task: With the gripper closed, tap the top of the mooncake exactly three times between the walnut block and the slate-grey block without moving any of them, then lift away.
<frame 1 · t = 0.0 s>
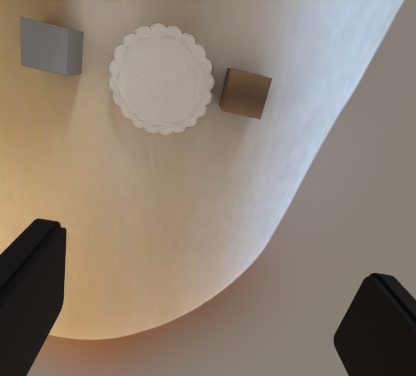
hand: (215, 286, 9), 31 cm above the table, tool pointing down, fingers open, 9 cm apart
mooncake: (164, 81, 36), on the table
slate-grey block: (62, 48, 34), on the table
walnut block: (240, 91, 37), on the table
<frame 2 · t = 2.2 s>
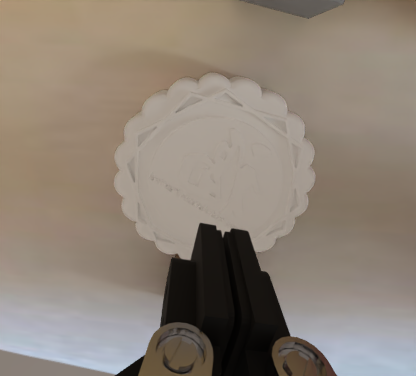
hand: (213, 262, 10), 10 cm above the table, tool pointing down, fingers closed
mooncake: (213, 165, 20), on the table
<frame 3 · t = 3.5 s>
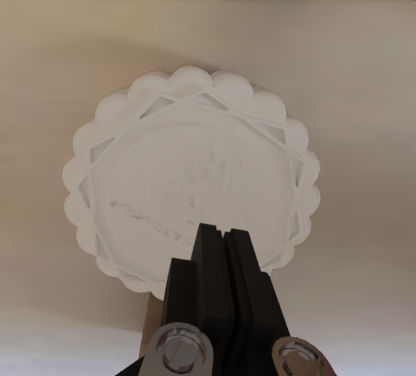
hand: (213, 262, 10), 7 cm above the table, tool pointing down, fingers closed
mooncake: (193, 180, 17), on the table
walnut block: (180, 312, 20), on the table
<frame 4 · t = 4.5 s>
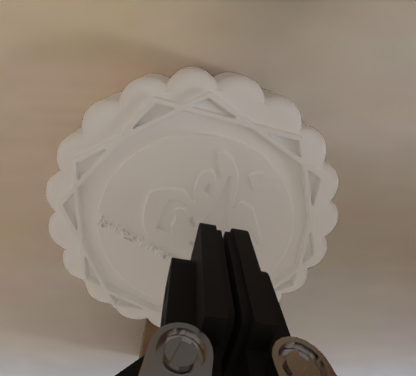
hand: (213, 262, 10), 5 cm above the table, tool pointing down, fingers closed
mooncake: (195, 193, 15), on the table
walnut block: (180, 333, 19), on the table
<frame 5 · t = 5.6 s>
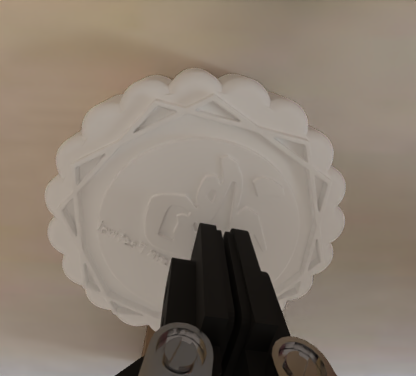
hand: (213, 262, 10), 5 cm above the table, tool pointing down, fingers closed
mooncake: (197, 197, 15), on the table
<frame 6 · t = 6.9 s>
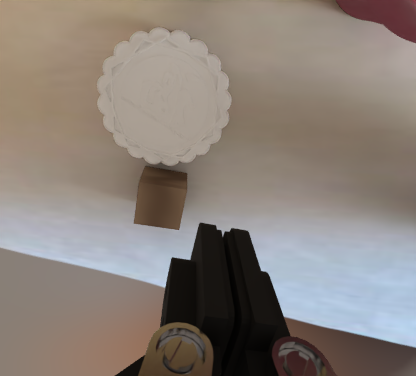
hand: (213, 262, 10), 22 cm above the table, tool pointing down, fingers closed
mooncake: (167, 98, 29), on the table
walnut block: (163, 188, 33), on the table
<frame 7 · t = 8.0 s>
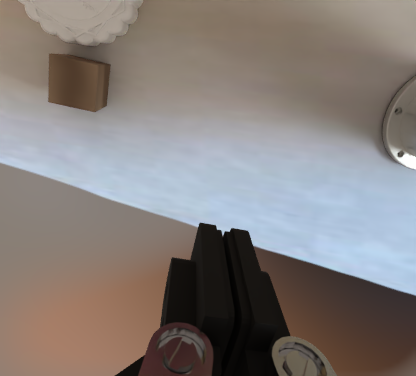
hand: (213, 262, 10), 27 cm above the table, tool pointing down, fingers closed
walnut block: (88, 81, 33), on the table
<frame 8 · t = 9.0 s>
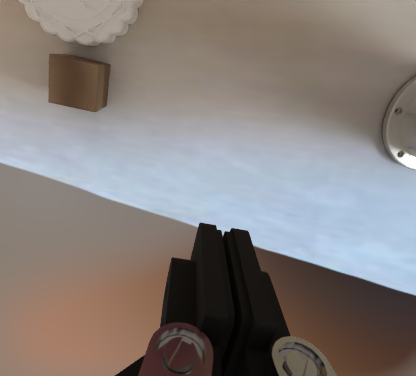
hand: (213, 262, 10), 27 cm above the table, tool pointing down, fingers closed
walnut block: (88, 81, 33), on the table
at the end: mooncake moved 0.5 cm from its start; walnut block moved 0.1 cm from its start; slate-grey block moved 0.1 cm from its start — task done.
